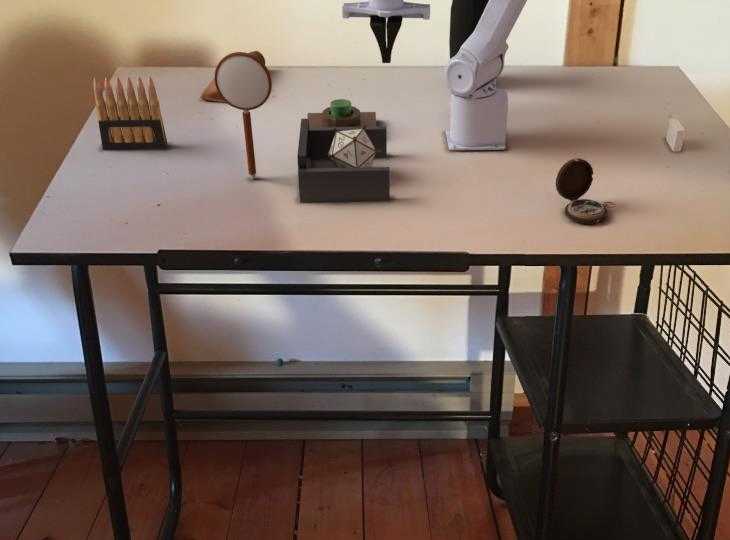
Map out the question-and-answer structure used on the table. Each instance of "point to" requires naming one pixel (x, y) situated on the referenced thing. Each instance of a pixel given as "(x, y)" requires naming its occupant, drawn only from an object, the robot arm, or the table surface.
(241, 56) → the magnifying glass
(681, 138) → the eraser
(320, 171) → the cubby
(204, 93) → the sunglasses case
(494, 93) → the robot arm
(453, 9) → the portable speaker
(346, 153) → the game die
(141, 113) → the ammunition clip
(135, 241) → the table surface
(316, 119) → the box
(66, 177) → the table surface
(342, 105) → the button
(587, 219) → the compass
